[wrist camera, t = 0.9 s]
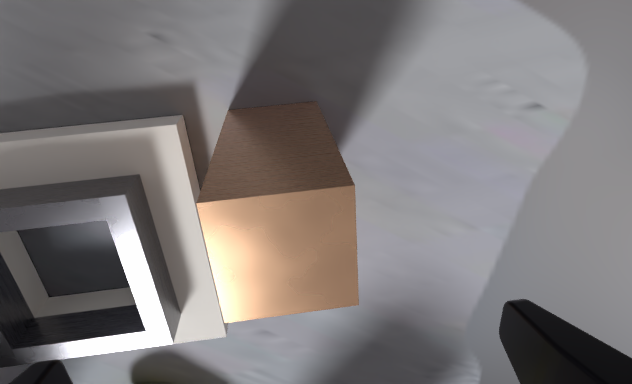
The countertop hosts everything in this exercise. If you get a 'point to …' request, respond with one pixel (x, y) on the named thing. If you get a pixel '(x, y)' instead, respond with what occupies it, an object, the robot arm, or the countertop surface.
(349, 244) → the wooden square prism
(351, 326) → the countertop surface
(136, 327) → the collar plate
